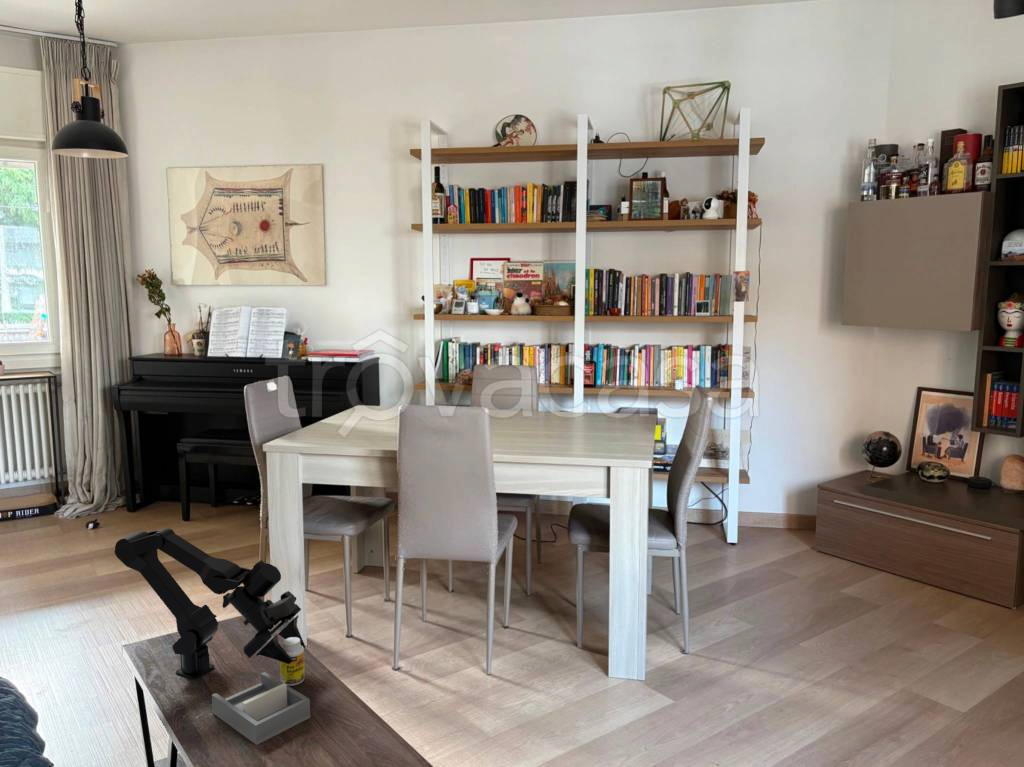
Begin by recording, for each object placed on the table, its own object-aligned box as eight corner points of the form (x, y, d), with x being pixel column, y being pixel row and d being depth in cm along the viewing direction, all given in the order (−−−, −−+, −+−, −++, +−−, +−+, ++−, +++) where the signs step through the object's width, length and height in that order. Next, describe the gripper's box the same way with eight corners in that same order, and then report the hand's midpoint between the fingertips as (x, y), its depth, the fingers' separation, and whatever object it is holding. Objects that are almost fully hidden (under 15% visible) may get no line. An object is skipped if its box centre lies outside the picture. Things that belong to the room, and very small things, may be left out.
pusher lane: (212, 713, 165) (211, 694, 165) (265, 689, 175) (264, 671, 174) (256, 745, 154) (255, 725, 153) (310, 717, 163) (309, 699, 163)
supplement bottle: (284, 689, 175) (283, 648, 173) (278, 679, 179) (276, 639, 178) (308, 682, 178) (306, 642, 177) (300, 672, 182) (299, 633, 181)
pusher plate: (243, 724, 159) (242, 702, 159) (284, 704, 167) (283, 683, 166) (246, 725, 159) (245, 703, 158) (287, 705, 166) (286, 684, 166)
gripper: (253, 603, 167) (301, 653, 167) (292, 572, 185) (335, 617, 185) (223, 633, 170) (270, 683, 169) (264, 599, 188) (306, 644, 187)
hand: (297, 655), depth 178 cm, fingers open, 7 cm apart
